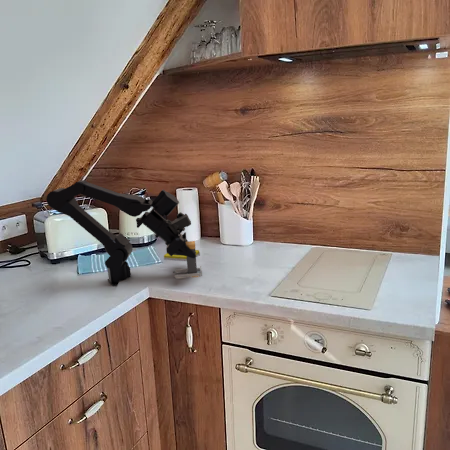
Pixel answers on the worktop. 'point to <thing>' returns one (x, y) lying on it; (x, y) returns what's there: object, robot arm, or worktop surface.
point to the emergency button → (178, 256)
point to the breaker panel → (187, 274)
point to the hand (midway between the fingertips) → (195, 255)
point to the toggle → (191, 259)
